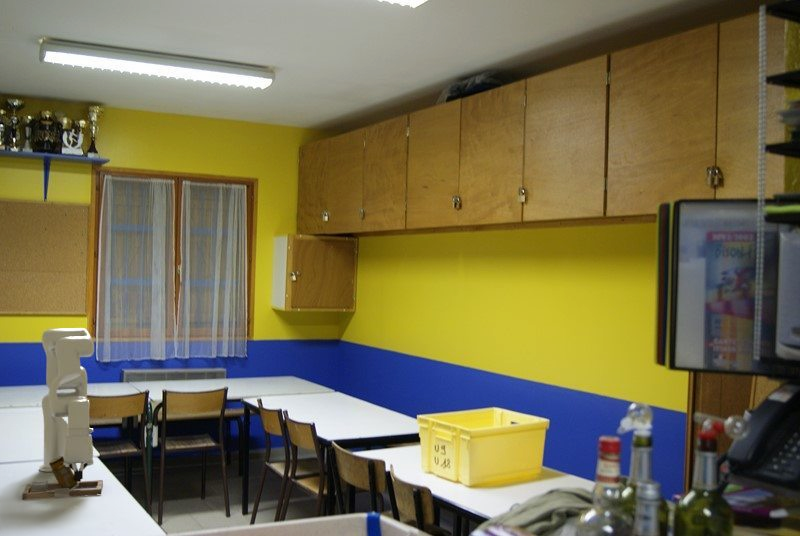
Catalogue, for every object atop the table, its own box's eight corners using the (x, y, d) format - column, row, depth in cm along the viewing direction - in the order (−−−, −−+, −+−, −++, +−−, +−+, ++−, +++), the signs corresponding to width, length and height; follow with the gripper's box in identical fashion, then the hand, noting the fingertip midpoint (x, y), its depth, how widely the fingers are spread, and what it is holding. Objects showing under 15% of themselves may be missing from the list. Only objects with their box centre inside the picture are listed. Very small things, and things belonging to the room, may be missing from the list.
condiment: (80, 480, 319) (65, 452, 317) (79, 485, 311) (63, 457, 309) (61, 489, 317) (46, 462, 315) (60, 495, 309) (44, 468, 307)
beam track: (27, 489, 317) (27, 478, 317) (102, 484, 325) (103, 474, 325) (21, 500, 302) (21, 489, 302) (100, 495, 310) (101, 484, 310)
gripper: (100, 429, 320) (99, 477, 319) (58, 431, 315) (57, 480, 315) (99, 432, 313) (98, 482, 312) (56, 435, 308) (55, 485, 308)
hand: (78, 481), depth 314 cm, fingers closed
